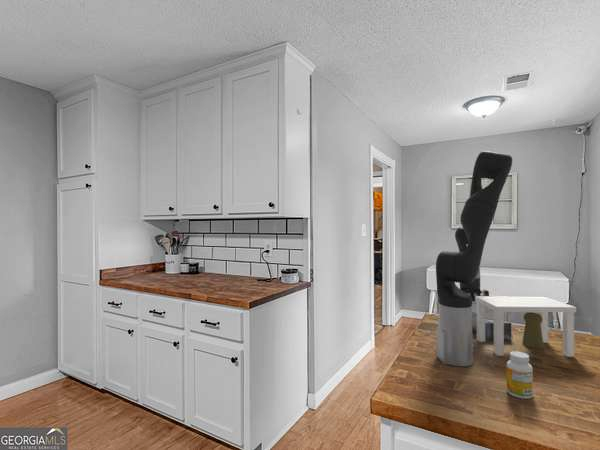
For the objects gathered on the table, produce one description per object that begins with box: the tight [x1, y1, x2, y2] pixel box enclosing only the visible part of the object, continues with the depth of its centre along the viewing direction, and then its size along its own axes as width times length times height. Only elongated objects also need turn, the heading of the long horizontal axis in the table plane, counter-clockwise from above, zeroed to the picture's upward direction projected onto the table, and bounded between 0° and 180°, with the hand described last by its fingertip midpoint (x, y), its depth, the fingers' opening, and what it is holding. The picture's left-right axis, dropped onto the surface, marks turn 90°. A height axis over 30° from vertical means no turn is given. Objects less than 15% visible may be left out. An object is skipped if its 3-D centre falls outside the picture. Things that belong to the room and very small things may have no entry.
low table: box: [474, 295, 577, 358], centre depth 111 cm, size 24×14×16 cm, turn 86°
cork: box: [522, 312, 545, 350], centre depth 113 cm, size 6×6×11 cm
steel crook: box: [472, 311, 512, 341], centre depth 129 cm, size 9×20×6 cm, turn 178°
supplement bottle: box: [506, 350, 534, 400], centre depth 82 cm, size 5×5×10 cm
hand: (470, 315), depth 136 cm, fingers open, 8 cm apart
